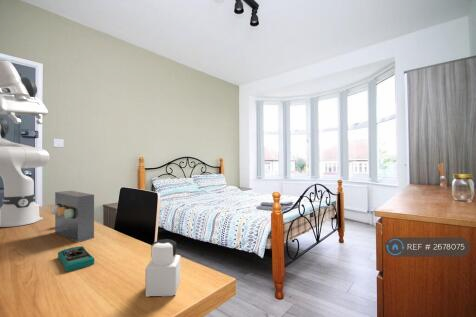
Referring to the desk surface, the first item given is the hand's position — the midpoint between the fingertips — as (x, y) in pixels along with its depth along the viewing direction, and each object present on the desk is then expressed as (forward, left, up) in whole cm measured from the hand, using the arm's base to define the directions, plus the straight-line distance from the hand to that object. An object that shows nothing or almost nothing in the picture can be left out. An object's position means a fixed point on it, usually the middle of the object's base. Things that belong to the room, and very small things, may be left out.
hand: (30, 123), depth 103 cm
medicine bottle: (+86, +3, -49) cm, 99 cm away
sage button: (+27, +5, -39) cm, 48 cm away
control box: (+20, +9, -49) cm, 53 cm away
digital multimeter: (+49, -2, -49) cm, 70 cm away
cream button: (+14, +5, -39) cm, 42 cm away
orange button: (+20, +5, -39) cm, 45 cm away
